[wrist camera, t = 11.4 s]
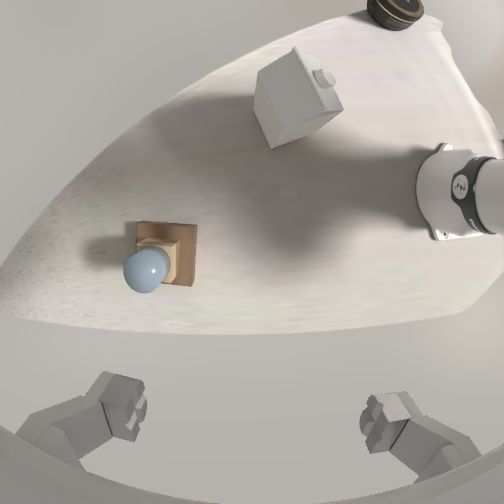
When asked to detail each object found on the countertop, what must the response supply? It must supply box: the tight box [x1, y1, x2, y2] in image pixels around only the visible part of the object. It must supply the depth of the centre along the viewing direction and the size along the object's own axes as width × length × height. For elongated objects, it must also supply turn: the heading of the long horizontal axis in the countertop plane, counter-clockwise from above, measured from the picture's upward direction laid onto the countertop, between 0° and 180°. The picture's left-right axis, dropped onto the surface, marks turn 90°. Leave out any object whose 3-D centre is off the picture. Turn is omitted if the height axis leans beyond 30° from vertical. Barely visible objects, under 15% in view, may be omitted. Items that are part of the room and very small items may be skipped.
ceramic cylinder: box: [124, 246, 171, 293], centre depth 34 cm, size 5×5×5 cm
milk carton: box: [253, 47, 344, 149], centre depth 31 cm, size 7×7×19 cm
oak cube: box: [137, 237, 180, 283], centre depth 39 cm, size 5×5×5 cm
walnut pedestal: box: [136, 221, 197, 287], centre depth 43 cm, size 9×9×3 cm
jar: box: [367, 0, 424, 31], centre depth 31 cm, size 10×10×8 cm
